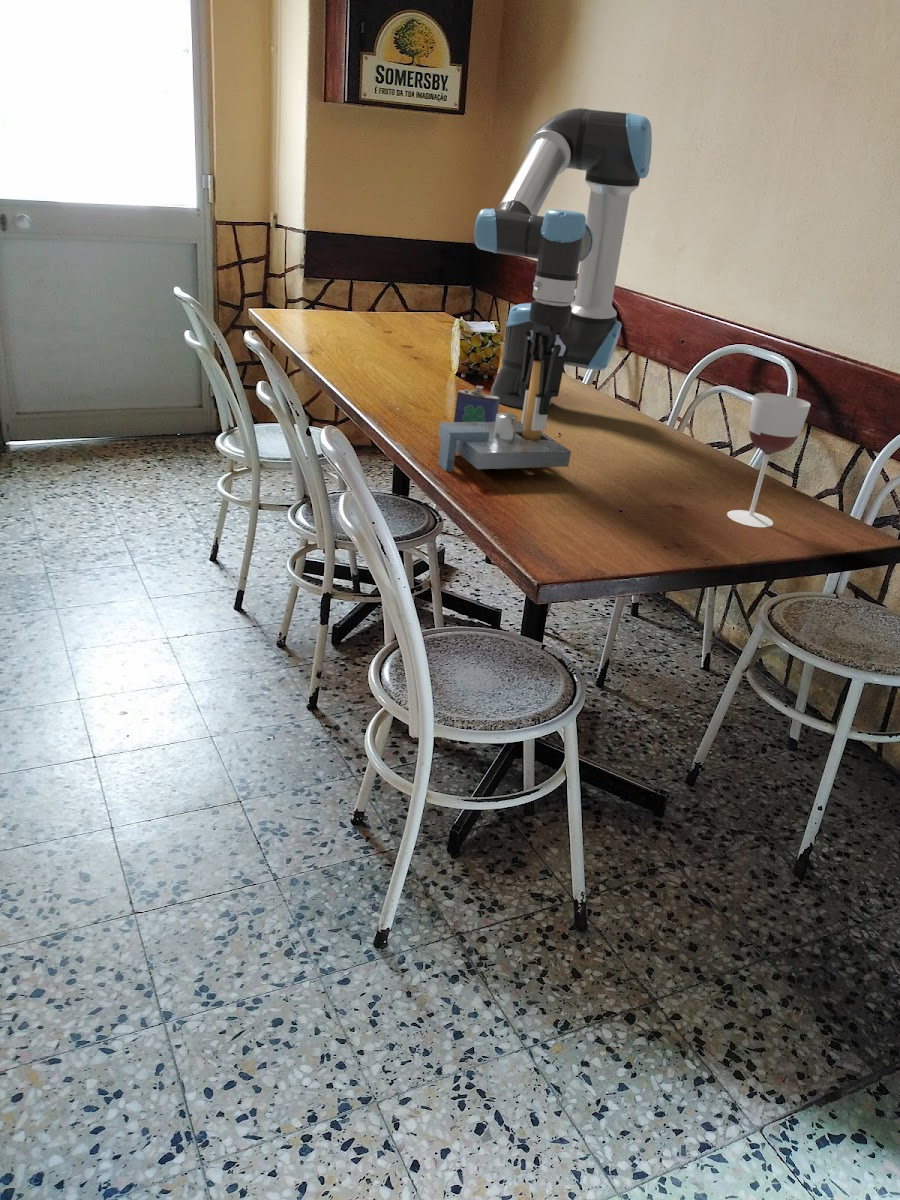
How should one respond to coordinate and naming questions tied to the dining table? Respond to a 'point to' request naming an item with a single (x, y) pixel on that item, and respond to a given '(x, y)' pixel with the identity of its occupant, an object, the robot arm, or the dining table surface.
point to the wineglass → (771, 440)
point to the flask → (476, 406)
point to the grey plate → (498, 445)
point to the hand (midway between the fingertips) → (532, 426)
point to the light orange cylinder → (532, 403)
